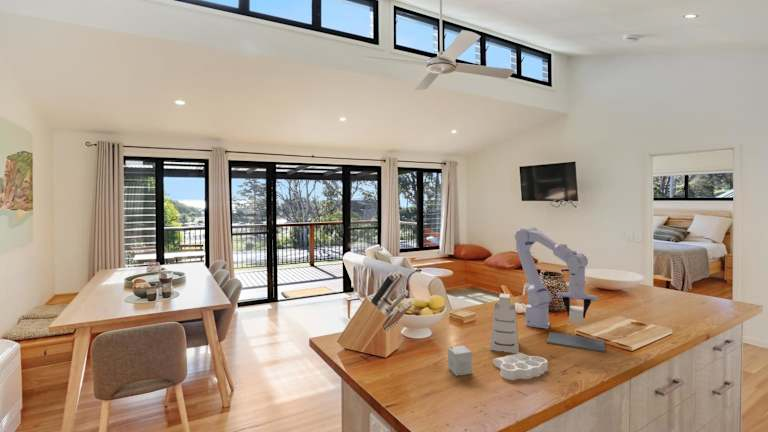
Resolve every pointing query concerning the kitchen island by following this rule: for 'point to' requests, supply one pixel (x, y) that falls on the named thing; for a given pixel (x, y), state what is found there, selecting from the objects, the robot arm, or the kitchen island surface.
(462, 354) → the skincare box
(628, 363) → the kitchen island surface
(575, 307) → the block
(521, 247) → the robot arm
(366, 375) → the kitchen island surface
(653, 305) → the kitchen island surface
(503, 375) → the white scalloped muffin tray
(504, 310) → the grater
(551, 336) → the mat
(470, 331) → the kitchen island surface
